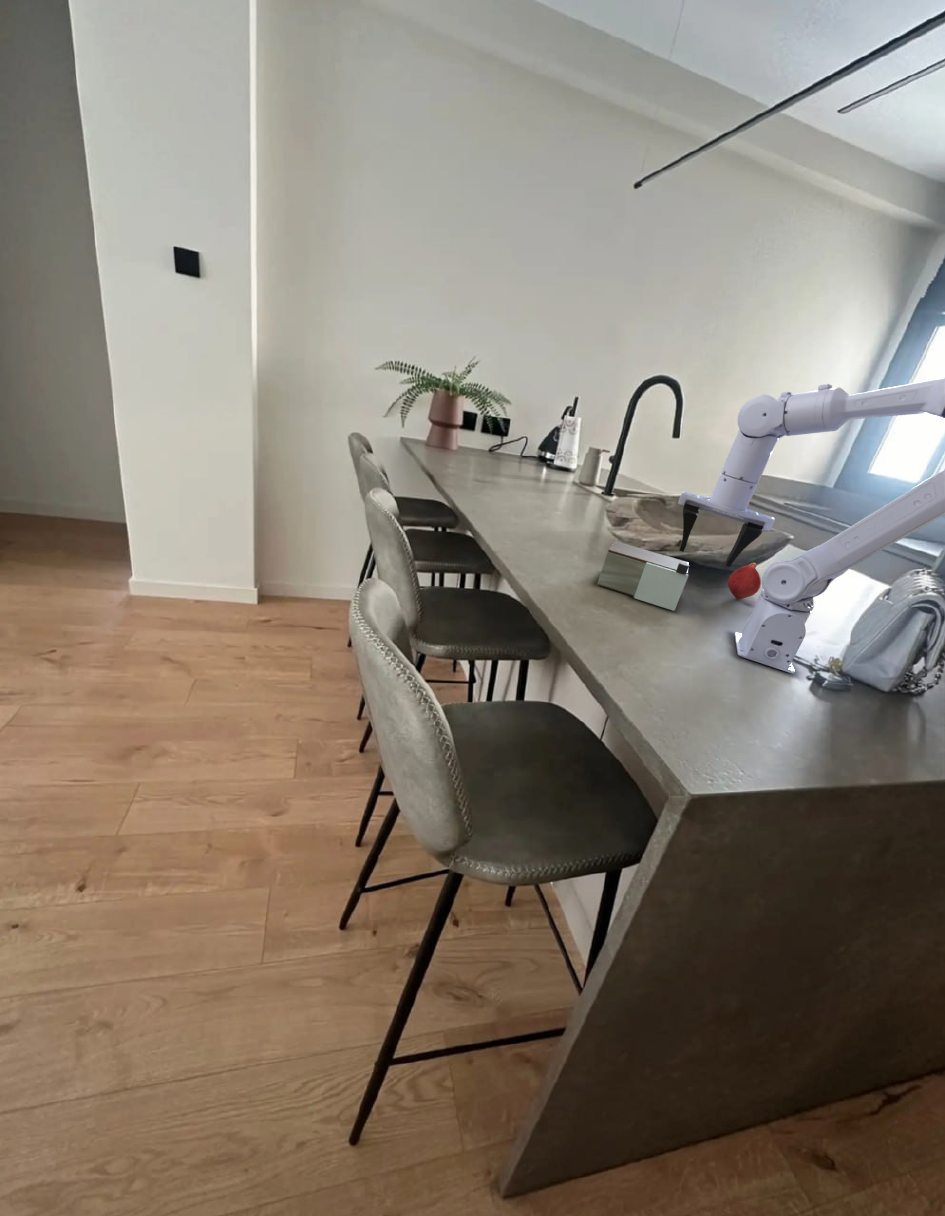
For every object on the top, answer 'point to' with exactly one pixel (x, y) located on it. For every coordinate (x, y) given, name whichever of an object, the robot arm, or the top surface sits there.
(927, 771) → the top surface
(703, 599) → the top surface
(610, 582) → the cabinet
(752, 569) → the onion
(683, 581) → the sliding door
